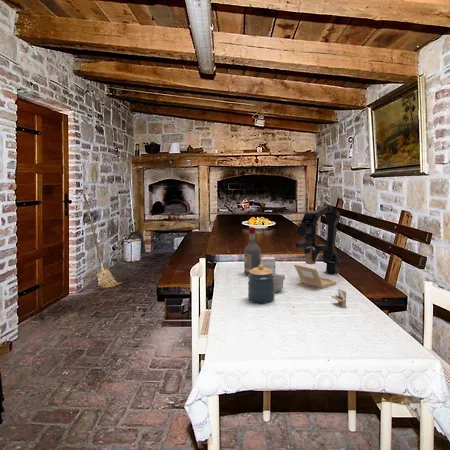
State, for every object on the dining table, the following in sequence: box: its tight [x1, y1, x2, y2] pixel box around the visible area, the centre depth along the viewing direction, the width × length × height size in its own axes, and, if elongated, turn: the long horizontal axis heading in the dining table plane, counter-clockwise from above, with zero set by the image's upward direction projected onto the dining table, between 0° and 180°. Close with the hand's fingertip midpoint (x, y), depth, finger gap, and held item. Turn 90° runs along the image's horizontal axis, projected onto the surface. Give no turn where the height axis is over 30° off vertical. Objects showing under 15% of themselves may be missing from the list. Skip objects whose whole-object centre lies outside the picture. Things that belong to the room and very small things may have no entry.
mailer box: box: [299, 276, 337, 289], centre depth 193 cm, size 12×15×2 cm
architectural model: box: [330, 288, 347, 308], centre depth 158 cm, size 3×7×7 cm, turn 17°
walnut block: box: [305, 251, 317, 265], centre depth 196 cm, size 4×4×6 cm
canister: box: [247, 264, 275, 304], centre depth 167 cm, size 13×13×18 cm
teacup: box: [273, 273, 286, 293], centre depth 182 cm, size 14×11×8 cm
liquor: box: [243, 226, 262, 277], centre depth 213 cm, size 9×9×30 cm
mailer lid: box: [294, 263, 322, 284], centre depth 187 cm, size 11×15×1 cm
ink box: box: [261, 256, 276, 274], centre depth 209 cm, size 9×5×12 cm, turn 86°
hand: (310, 260), depth 196 cm, fingers closed on walnut block, 4 cm apart
